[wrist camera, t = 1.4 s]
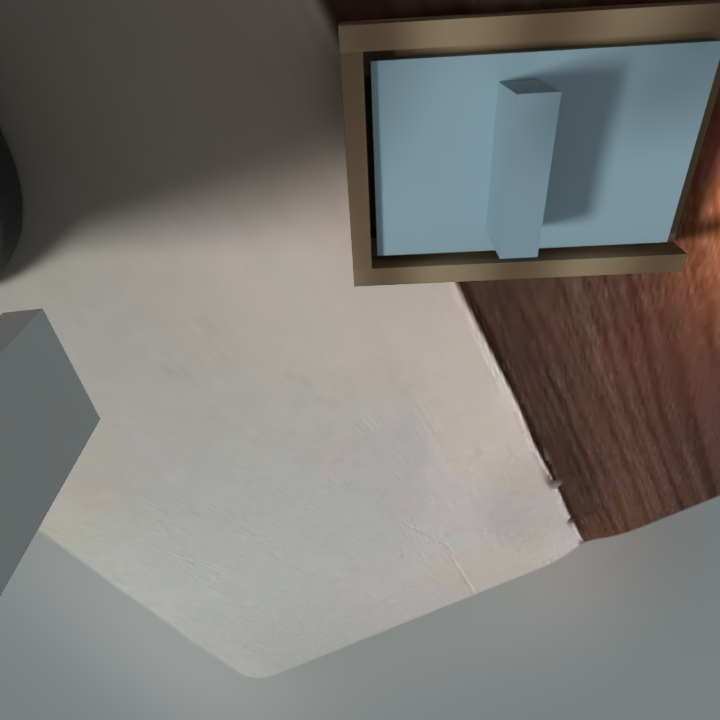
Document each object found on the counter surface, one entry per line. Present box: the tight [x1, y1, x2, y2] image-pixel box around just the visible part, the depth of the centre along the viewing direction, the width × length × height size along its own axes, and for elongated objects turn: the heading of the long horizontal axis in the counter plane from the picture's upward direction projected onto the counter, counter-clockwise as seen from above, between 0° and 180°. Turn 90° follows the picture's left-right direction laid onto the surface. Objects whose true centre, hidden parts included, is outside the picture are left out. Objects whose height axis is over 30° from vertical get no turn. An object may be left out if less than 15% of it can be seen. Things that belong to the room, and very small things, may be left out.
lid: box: [370, 39, 720, 259], centre depth 23 cm, size 14×8×4 cm, turn 93°
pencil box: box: [338, 0, 720, 286], centre depth 25 cm, size 16×11×3 cm
